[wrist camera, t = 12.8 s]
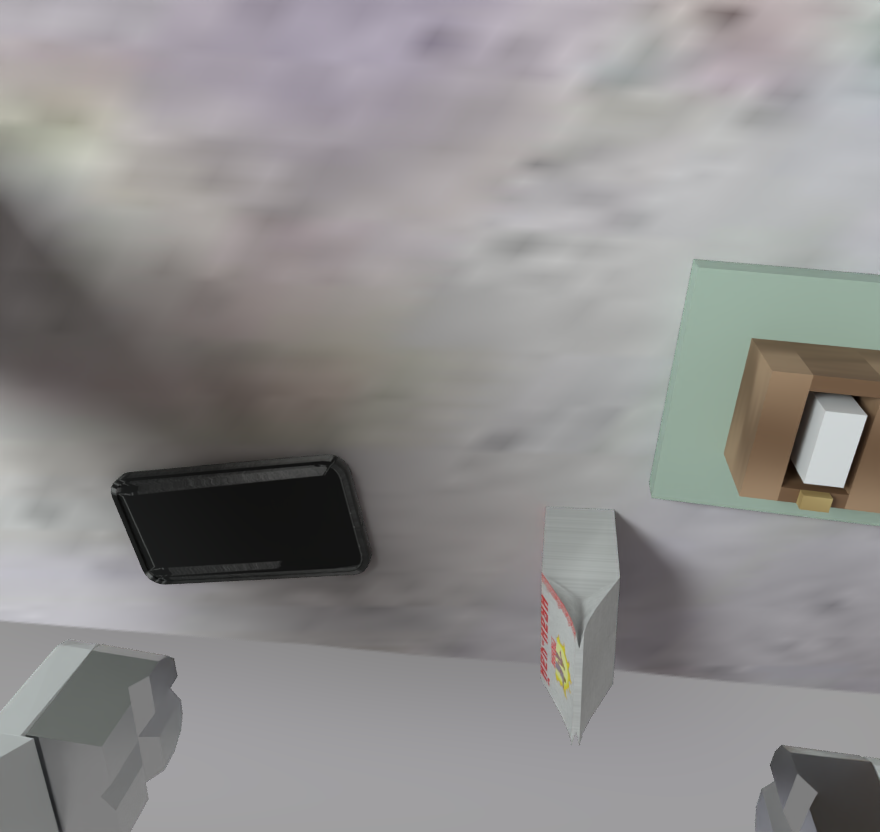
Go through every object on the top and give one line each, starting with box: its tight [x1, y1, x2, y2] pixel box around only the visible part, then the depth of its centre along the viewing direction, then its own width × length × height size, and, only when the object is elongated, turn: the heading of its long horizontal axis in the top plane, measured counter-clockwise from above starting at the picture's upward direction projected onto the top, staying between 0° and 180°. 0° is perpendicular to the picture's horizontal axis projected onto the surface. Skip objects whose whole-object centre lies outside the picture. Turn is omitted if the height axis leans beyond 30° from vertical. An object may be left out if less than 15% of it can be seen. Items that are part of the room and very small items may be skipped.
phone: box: [111, 455, 372, 584], centre depth 45 cm, size 8×1×15 cm
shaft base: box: [649, 259, 880, 526], centre depth 34 cm, size 12×12×6 cm
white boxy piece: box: [541, 507, 620, 745], centre depth 38 cm, size 4×7×10 cm, turn 3°
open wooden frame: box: [724, 338, 880, 513], centre depth 33 cm, size 6×6×4 cm
